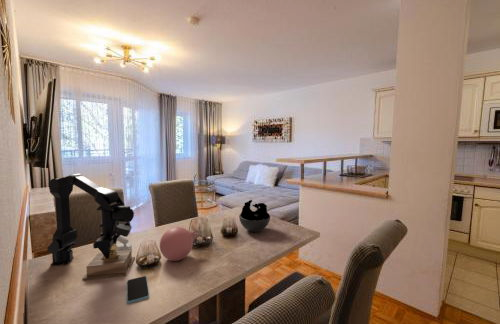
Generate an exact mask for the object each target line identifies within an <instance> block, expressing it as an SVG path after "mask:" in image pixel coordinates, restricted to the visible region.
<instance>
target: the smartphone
mask: <svg viewBox="0 0 500 324" xmlns="http://www.w3.org/2000/svg"><path fill="white" fill-rule="evenodd" d="M149 297H150V292H149V285H148V279H147V276H145V275H143V276H140V277H139V276H138V277H135V278H131V279H128V280H126V303H127V304H131V303H136V302H139V301H143V300H146V299H149Z"/></svg>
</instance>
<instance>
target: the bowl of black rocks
mask: <svg viewBox="0 0 500 324" xmlns="http://www.w3.org/2000/svg"><path fill="white" fill-rule="evenodd" d="M252 202H253V200H252V199H250V200H248V201H246V202H244V204H243V207H242V209H241V212H240V214H239V215H238V217H239V222H240V224H241V226H242V227H243V228H244V229H245V230H247V231H249V232H252V233H253V232H254V233H258V232H261V231H263V230H264V229H265V228H266V227H267V226H268V225H269V223H270V221H271V215H270V213H268V208H267V207H268V206H267V204H265V202H258V203H254V204H252ZM251 204H252V205H251ZM251 206H253V207H254V208H255V210H253V209H251Z"/></svg>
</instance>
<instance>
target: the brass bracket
mask: <svg viewBox="0 0 500 324" xmlns="http://www.w3.org/2000/svg"><path fill="white" fill-rule="evenodd" d="M116 244H117V243H116ZM116 244H113V245H112V246H111V248H110V255H109V258H105V256H104V255H103V260H109V259H118V253H117V245H116Z"/></svg>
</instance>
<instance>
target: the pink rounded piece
mask: <svg viewBox="0 0 500 324" xmlns="http://www.w3.org/2000/svg"><path fill="white" fill-rule="evenodd" d="M197 236H201V233H200V232H196V231H195V230H192V231H189V230H188V229H186V228H185V227H182V226H175V227H171V228H169V229H168V230H166V231H165V232H164V233H163V234H162V236H161V237H160V242H159V251H160V253H161V254H162V256H163V257H164V258H165V259H167V260H169V261H175V262H176V261H180V260H183V259H184V258H186V257H187V256H188V255H189V254H190V253H191V252H192V249H193V245H194V241H195V240H196V239H197Z"/></svg>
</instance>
